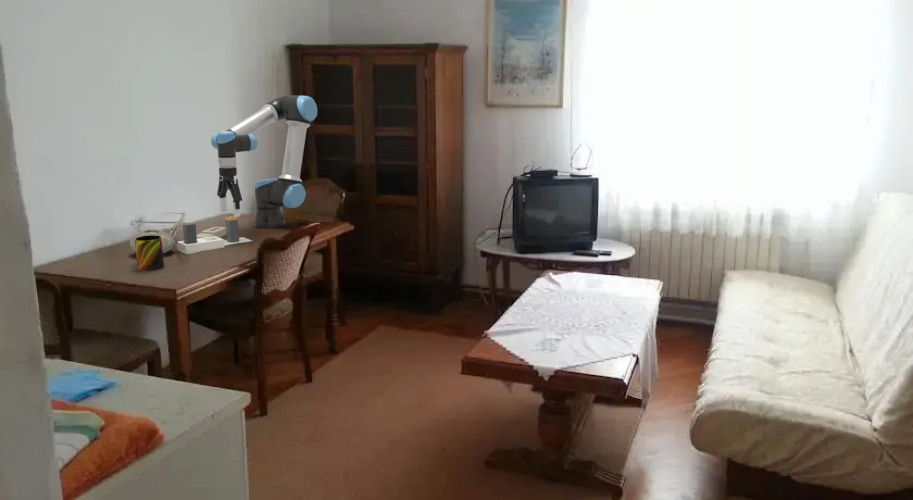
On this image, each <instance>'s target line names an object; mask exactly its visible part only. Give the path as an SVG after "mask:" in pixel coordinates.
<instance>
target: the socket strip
mask: <svg viewBox="0 0 913 500" xmlns="http://www.w3.org/2000/svg"><path fill="white" fill-rule="evenodd" d="M182 230H183V231H182V233H183V240H181V241H177V251H178V252H180V253H182V254H184V255H186V256H187V255H192V254H197V253H198V252H199V253H200V252H204V251H210V250H216V249H222V248H223V249H224V248H225V245H224V240H225V239H224V238H222V237H216V236H212V237H205V238H199V239H197V236H196V235H197V225H196V221H194V220H185V221H182ZM199 253H198V254H199Z"/></svg>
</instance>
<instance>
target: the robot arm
mask: <svg viewBox="0 0 913 500" xmlns="http://www.w3.org/2000/svg"><path fill="white" fill-rule="evenodd" d="M317 116H318V107H317V103H316V102H315V100H314V99H313V98H312V97H311V96H308V95H288V94H286V95H281V96H278V97H276V98H274V99H272V100H271V101H268V102H267V103H265V104H264V105H263V106H262V108H261V109H260V110H258V111H256V112H255V113H253V114H251V115H249V116H248V117H245V119H243V120H241V121H239V122H238V123H237V124H235V125H233V126H231V127H230V128H229V129H227V130H224V131H222V130H221V131H218V132H215V133H213V134H212V136H211V138H210V143H211V145H212V147H213V148H214V149H216V150H217V157H218V159H217V162H218V167H219V168H218V173H219V176H218V177H219V179H218V185H217V186H218V188H217V192H216V195H217V197H218V198H219V206H220V207H219V209H220V213H227V212H228V205H227V202H228V201H227V193H228V190H229V192H230V195H231V197H232V200H233V201H232V203H233V205H232V206H233V216H234V217H241V204H240V203H241V202H242V201H243V198H242V197H243V196H242V192H241V189H240V186H239V180H238V178H235V176H237V174H238V170H237V169H238V168H237V153H243V152H251V151H254V150H256V149H257V148H258V147H257V146H258V139H257V137H256V135H254V134H255V133H257V132H258V131H259V130H262V129H263V128H264V127H266V126H267V125H269V124H271V123H273V124H274V123H277V122H279V121H282V120H285V122H286V124H287V126H288V128H287V135H286V143H285V148H284V150H285V151H284V156H283V165H282V169H281V170H282V171H281V175H280V176H278V177H274V178H265V179H259V180H256V181H255V182H254V196H255V197H254V198H255V207H256V210H255V215H254V218H253V226H254V228H259V229H273V228H274V229H275V228H279V227H283V226H285V225H286V221H285V220H286V219H285V217H284V215H283V214H284V213H283V212H282V209H281V207H283V208H284V207H285V208H288V209H289V208H290V209H291V208H292V209H294V208H298V207H300V206H301V205H302V204H303V203H304V201H305V200H306V199H305V198H306V196H307V195H306V194H307V193H306V190H305V187H304V186H303V180H302V179H301V178H300V177H301V171H302V170H301V169H302V164H303V156H304V149H305V142H306V135H307V129H308V128H309V127H311V125H312V124H311V123H312V122H313V121H315V119H316V118H317Z"/></svg>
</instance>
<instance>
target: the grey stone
mask: <svg viewBox="0 0 913 500" xmlns="http://www.w3.org/2000/svg"><path fill="white" fill-rule="evenodd" d="M149 235H157V236H161V238H162V248H163V254H167V252H169V251H171V250H172V249H173V248H174V246H175V244H176V241H175V238H174V237H173V236H172V235H171V234H170V233H169V232H165V230H161V229H158V228H157V229H143V230H141V231H139V232H137V233H136V234H134V235H132V237H131V238H130V240H129V245H130V248H131V250H132V251H134V252H135V253H136V248H135V239H136V238H137V237H141V236H149Z"/></svg>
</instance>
